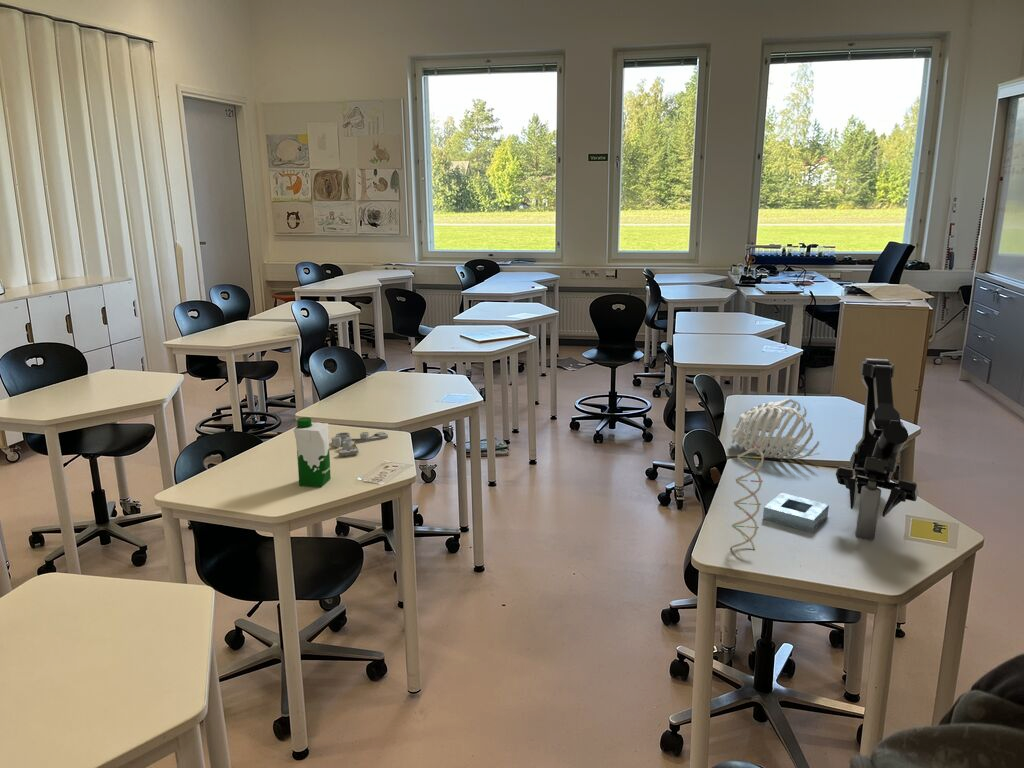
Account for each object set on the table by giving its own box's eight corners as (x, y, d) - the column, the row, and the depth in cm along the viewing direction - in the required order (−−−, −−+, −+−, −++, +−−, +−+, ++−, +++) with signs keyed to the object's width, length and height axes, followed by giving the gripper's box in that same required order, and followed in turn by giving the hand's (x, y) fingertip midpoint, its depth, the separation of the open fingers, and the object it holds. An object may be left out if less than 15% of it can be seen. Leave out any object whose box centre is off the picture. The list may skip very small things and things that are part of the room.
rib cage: (813, 444, 258) (731, 434, 266) (820, 396, 253) (737, 386, 261) (818, 471, 234) (728, 458, 243) (827, 418, 229) (734, 407, 237)
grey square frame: (779, 504, 207) (781, 492, 206) (827, 516, 199) (828, 504, 198) (762, 519, 197) (763, 507, 196) (812, 532, 189) (813, 520, 188)
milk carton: (307, 476, 226) (303, 414, 221) (335, 478, 225) (331, 416, 220) (294, 487, 218) (290, 423, 213) (323, 489, 216) (319, 424, 212)
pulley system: (313, 456, 247) (352, 459, 241) (312, 443, 246) (350, 445, 240) (357, 435, 272) (393, 438, 267) (356, 423, 271) (392, 425, 266)
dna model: (730, 553, 178) (740, 436, 170) (727, 541, 184) (737, 428, 176) (758, 556, 176) (770, 438, 169) (755, 544, 183) (765, 430, 175)
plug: (868, 532, 189) (876, 478, 186) (878, 540, 185) (886, 484, 181) (852, 532, 189) (859, 478, 185) (861, 540, 185) (868, 485, 181)
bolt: (694, 472, 236) (713, 488, 221) (682, 465, 235) (700, 481, 220) (703, 457, 235) (723, 472, 221) (691, 450, 234) (710, 465, 220)
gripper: (842, 436, 190) (824, 488, 184) (922, 452, 178) (905, 508, 173) (847, 457, 198) (830, 508, 192) (924, 473, 186) (908, 527, 181)
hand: (867, 512), depth 184 cm, fingers open, 7 cm apart
